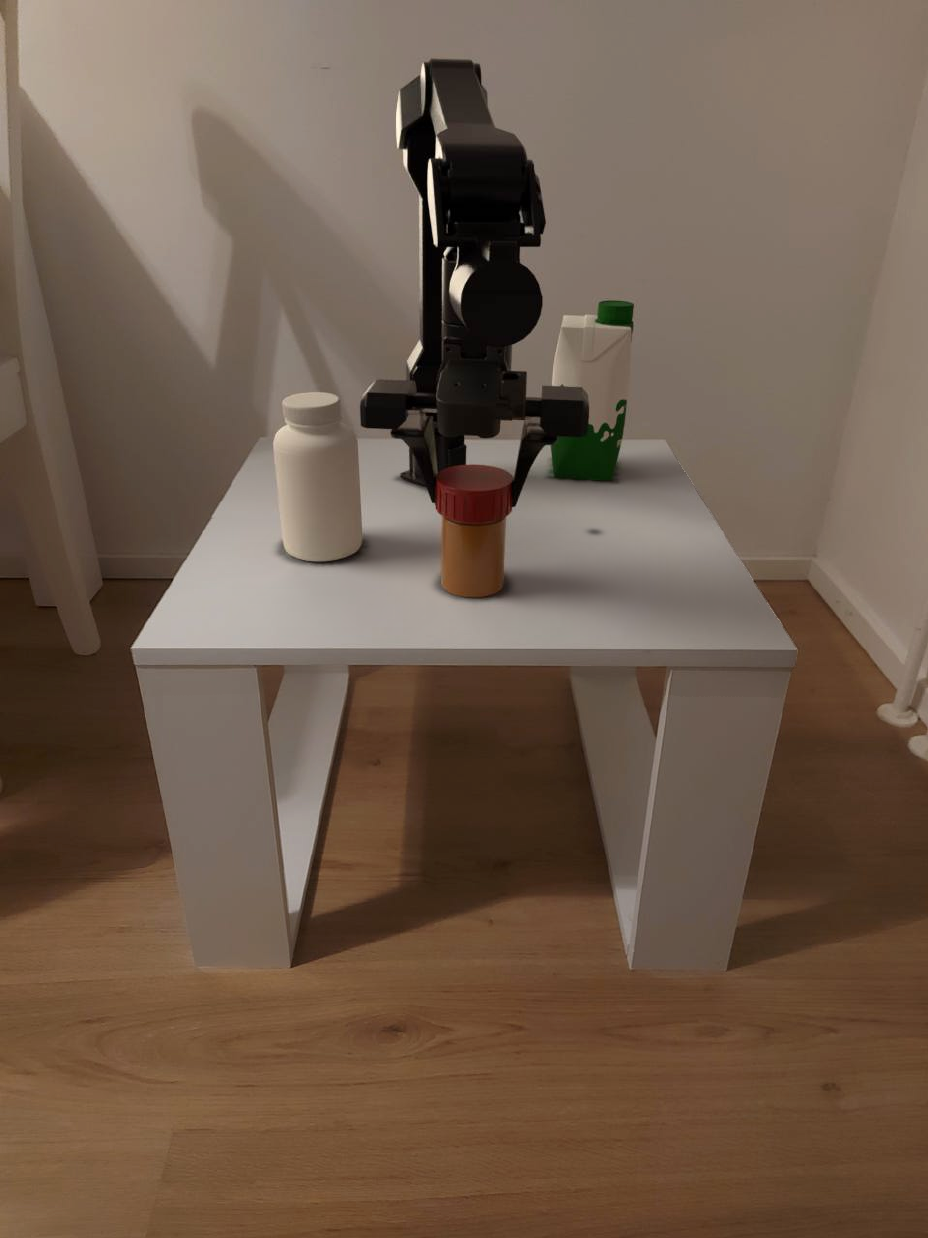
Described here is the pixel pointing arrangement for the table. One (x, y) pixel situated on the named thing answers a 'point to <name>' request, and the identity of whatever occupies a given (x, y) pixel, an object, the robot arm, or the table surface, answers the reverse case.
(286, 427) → the pill bottle
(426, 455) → the robot arm
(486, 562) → the jar
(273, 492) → the table surface
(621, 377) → the soya milk
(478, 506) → the lid
